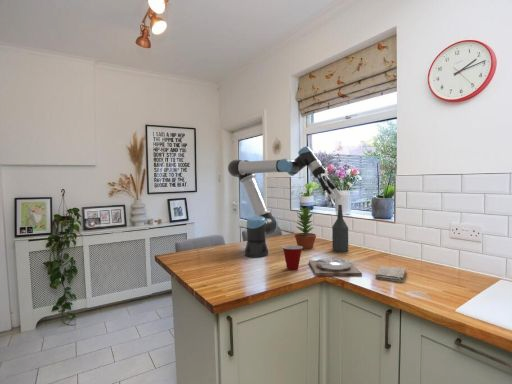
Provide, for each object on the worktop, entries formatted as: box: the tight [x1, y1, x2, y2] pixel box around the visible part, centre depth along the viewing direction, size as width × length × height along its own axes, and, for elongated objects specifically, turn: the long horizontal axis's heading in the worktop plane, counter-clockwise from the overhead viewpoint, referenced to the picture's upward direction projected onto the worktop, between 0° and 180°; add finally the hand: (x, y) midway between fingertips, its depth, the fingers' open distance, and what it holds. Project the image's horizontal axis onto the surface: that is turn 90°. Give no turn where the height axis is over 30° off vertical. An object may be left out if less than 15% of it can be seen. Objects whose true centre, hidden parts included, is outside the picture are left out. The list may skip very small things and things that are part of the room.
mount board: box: [308, 257, 363, 277], centre depth 149 cm, size 22×22×4 cm
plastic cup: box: [281, 244, 303, 271], centre depth 151 cm, size 11×11×12 cm
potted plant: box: [294, 204, 317, 250], centre depth 198 cm, size 15×15×30 cm
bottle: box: [331, 204, 349, 253], centre depth 189 cm, size 10×10×30 cm
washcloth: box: [375, 265, 406, 283], centre depth 138 cm, size 12×18×3 cm, turn 150°
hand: (337, 198), depth 167 cm, fingers open, 13 cm apart
